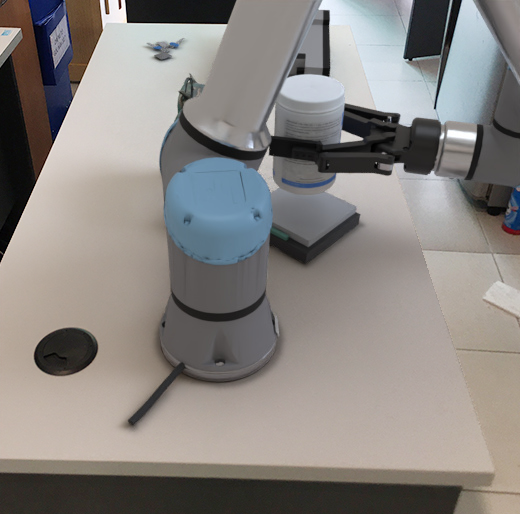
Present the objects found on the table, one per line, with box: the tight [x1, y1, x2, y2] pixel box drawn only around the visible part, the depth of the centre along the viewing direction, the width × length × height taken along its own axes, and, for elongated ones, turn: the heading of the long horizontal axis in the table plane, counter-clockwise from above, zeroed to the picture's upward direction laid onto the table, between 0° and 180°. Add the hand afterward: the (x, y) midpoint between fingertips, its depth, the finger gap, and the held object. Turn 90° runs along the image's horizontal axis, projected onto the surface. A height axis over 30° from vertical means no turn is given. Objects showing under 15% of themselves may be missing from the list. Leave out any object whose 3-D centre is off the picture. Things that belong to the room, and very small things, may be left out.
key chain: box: [146, 37, 185, 60], centre depth 155 cm, size 14×8×1 cm, turn 167°
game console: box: [288, 9, 331, 77], centre depth 144 cm, size 21×32×8 cm, turn 173°
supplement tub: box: [272, 74, 346, 195], centre depth 91 cm, size 10×10×15 cm
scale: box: [269, 187, 361, 265], centre depth 100 cm, size 14×14×3 cm
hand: (277, 128), depth 91 cm, fingers closed on supplement tub, 9 cm apart
